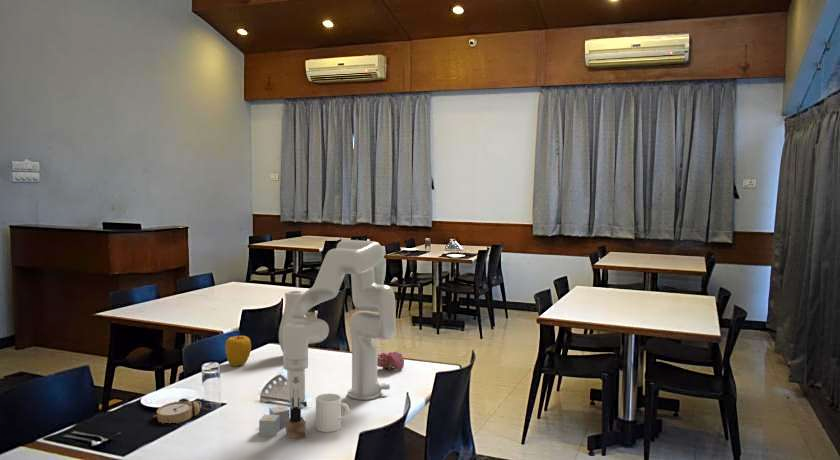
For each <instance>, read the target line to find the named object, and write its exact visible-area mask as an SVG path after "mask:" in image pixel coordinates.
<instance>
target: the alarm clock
mask: <svg viewBox="0 0 840 460" xmlns="http://www.w3.org/2000/svg"><path fill="white" fill-rule="evenodd" d="M201 409H202V402H201V401H200V400H190V399H189V398H185V397H183V398H181V399H179V400H178V401H174V402H169V403H166V404H164V405H161V406H159V408H157V410H156V414H155V415H153V418H157V419H158V420H157V422H158V421H159V423H160V422H161V424H164V423H169V424H168V425H171V424H170V423H176V424H180V423H184V422H185V421H188V420H190V419H191V418H192V417H193V416H198V415H199V413H200V410H201Z"/></svg>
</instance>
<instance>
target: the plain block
mask: <svg viewBox="0 0 840 460" xmlns="http://www.w3.org/2000/svg"><path fill="white" fill-rule="evenodd" d="M285 434H286V437H287V439H288V441H294V440H300V439H301V440H302V439H306V421H305V419H304V418H303V416H301V421H297V422H291V421H290V418H288V419H286V426H285Z"/></svg>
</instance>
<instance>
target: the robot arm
mask: <svg viewBox="0 0 840 460" xmlns="http://www.w3.org/2000/svg"><path fill="white" fill-rule="evenodd" d="M383 255H384V250H383V247H382V245H381V244H380V243H379V242H376V241H372V240H358V239H345V240H341V241H339V242H337V244H336V248H332V249H329V250H328V251H327V252H326V254H325V256H324V259H323V261H322V263H321V265H320V269H319V271H318V274H317V276H316V279H315V281H314V283H313V286H312V287H310V288H309V289H307V290H306V291H305V292H303V295H301V296H300V297H299V298H298V299H297V300H296V301H295V303H294V304H293V306H292V307H291V310H290V312H289V315H288V317H287V320H286V323H285V326H284V328H283V352H282V354H283V355H282V357H283V358H282V361H283V362H282V365H283V366H282V369H283V370H285V371H286V377H287V379H286V380H287V381H286V383H287V396H288V402H289V403H290V408H289V410H290V421H291V422H297V421H301V417H302V411H301V410H302V409H301V408H302V407H301V402H305V401H306V373H305V372H306V371H305V370H307V369H308V367H309V344H311V345H312V344H317V343H322V342H323V341H324V340H326V339H327V338H328V335H329V332H330V327H329V324H328V323H327V321H325V320H323V319H321V318H314V317H309V316H308V317H307V316H306V317H304V316H305V315H307V313H308V311H310V310H311V309H313V308H314V307H316V306H317V305H319V304H321V303H325V302H327V301H330V300H333V299H334V298H336V297H337V296H338V294H339V291H340V288H341V287H342V283H343V281H344V278H345V276H346V275H347V274H348V275H350V277H351V278H350V279H351V296H352V303H353V306H354V307H356V308H358V309H364V310H359V311H356V312H354V313H352V315H351V317H350V318H349V331H350V336H351V349H352V350H351V388H350V389H348V391H347V396H348V397H349V398H351V399H353V400H359V401H361V400H362V401H368V400H375V399H377V398H380V396H382V390H386V391H387V390H390V388H391V386H390V383H387V384H386V382H382V383H380V382H379V381H378V366H377V357H378V355H379V354H378V345H377V343H376V340H375V339H377V340H391V339H392V338H393V337H394V336H395V333H396V329H397V328H396V327H397V326H396V325H397V320H396V319H397V318H396V317H397V316H396V315H397V314H396V297H395V292H394V290H393V288H392V287H391V286H390V285H387V284H380V283H379V284H378V283H376V281H375V280H376V279H375V270H374V268H375V267H376V266H378V265H379V263H381V261H382V259H383ZM368 310H373V311H368ZM375 311H376V312H375ZM377 311H378V312H377Z"/></svg>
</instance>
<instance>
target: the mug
mask: <svg viewBox="0 0 840 460" xmlns="http://www.w3.org/2000/svg"><path fill="white" fill-rule="evenodd" d="M342 407H343V408H344V409H345V413H344V415H342ZM350 412H351V410H350V406H349V405H348V403H345V402H342V396H340V395H339V394H337V393H323V394H320V395H317V396H316V397H315V429H316V430H317V431H319V432H323V433H331V432H336V431H339V430H340V429H341V427H342V421H343V420H345V419H347V418H348V416H349V414H350Z"/></svg>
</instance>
